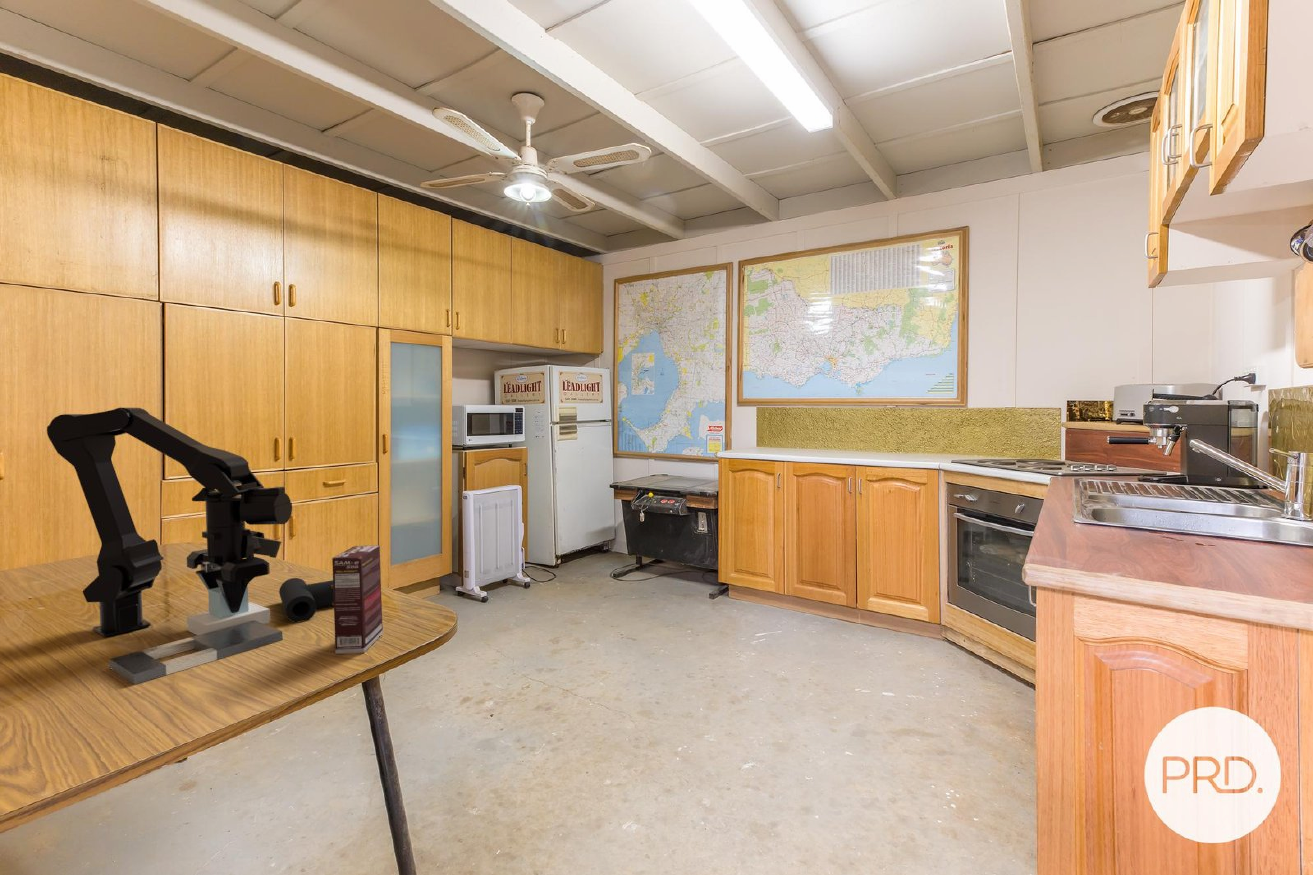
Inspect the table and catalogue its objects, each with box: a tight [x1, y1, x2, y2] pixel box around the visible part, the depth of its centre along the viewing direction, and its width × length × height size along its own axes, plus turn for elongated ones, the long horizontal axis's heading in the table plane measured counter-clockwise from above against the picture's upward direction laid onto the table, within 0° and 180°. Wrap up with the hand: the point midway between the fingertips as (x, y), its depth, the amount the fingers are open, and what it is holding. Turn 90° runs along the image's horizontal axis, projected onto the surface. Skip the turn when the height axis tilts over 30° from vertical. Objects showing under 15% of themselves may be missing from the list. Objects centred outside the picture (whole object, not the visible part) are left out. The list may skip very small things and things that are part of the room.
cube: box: [207, 586, 249, 619], centre depth 109 cm, size 4×4×4 cm
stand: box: [186, 601, 271, 636], centre depth 109 cm, size 8×10×2 cm
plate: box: [109, 620, 284, 685], centre depth 97 cm, size 10×20×2 cm, turn 147°
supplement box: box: [331, 544, 384, 655], centre depth 100 cm, size 9×5×16 cm, turn 5°
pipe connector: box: [278, 577, 334, 623], centre depth 120 cm, size 12×5×15 cm
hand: (228, 610), depth 109 cm, fingers closed on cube, 4 cm apart
